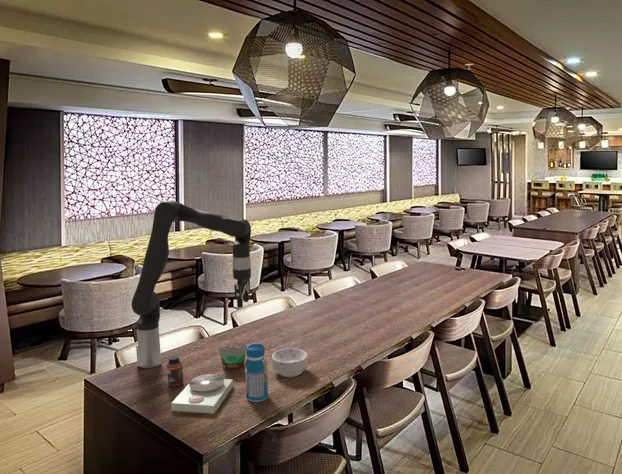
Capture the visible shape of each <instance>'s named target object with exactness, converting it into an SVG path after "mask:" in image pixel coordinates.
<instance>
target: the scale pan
mask: <svg viewBox="0 0 622 474" xmlns="http://www.w3.org/2000/svg"><path fill="white" fill-rule="evenodd" d="M224 379H225V378H224V377H223V376H222V375H219V374H216V373H209V374H208V373H206V374H202V375H198V376H196V377H193V378H192V379H191V380H190V381H189V383H188V384H189V385H190V388H191V389H192V390H194V391H198V392H208V391H213V390H216V389H218V388H220V387H221V386H222V385H223V384H224Z"/></svg>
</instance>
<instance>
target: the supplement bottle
mask: <svg viewBox="0 0 622 474" xmlns="http://www.w3.org/2000/svg"><path fill="white" fill-rule="evenodd" d="M166 373H167V383H168V386H169V387H173V388H174V387H179V386H182V385H183V384H184V372H183V362H182V361H181V360H180V356H179V355H171V356H169V357H168V362H167V364H166Z"/></svg>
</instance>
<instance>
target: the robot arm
mask: <svg viewBox="0 0 622 474" xmlns="http://www.w3.org/2000/svg"><path fill="white" fill-rule="evenodd" d="M153 213H154V214H153V221H152V228H151V233H150V237H149V239H148V240H149V241H148V245H147V248H146V251H145V255H144V259H143V264H142V269H141V272H140V276H139V279H138V280H139V281H138V283H137V286H136V289H135V292H134V294H133V297H132V300H131V309H132V311H133V313H134V314H136V315H137V316H139V318H138V320H137V321H136V334H137V335H136V337H137V344H136V346H135V350H136V352H135V353H136V360H137V361H136V362H137V367H140V368H142V369H152V368H155V367H156V368H157V367H158V366H161V364H162V355H161V353H162V352H161V341H160V325H159V322H160V319H161V309H160V308H161V307H160V305H161V304H160V298H159V296H158V293H156V292H155V288H156V285H157V283H158V282H159V280H160V278H161V276H162V275H163V274H164V271H165V269H166V268H167V267H166V266H167V263H168V259H169V254H170V246H169V234H170V230H171V228H172V224H173V223H175V222H187V223H190V224H194V225H196V226H198V227H201V228H204V229H206V230H210V231H214V232H220V233H223V234H225V235H227V236H230V237H233V238H234V243H233V244H232V279H233V280H237V281H236V282H237V283H236V284H234V285H233V287H234V299H236V304H237V305H236V306H237V308H238V309H242V308H243V307H244V305H243V304H244V303H248V302H249V298H250V297H249V293H250V291H251V278H252V263H251V255H250V254H251V252H250V251H251V250H250V243H251V235H252V227H251V224H250V222H249V221H248V220H247V219H246V218H239V219H232V218H229V217H228V216H225V215H223V214H219V213H213V212H209V211H206V210H200V209H197V208H193V207H190V206H188V205H186V204H183V203H181V202H178V201H175V200H171V199H170V200H165V201H161V202H160V203H158V204H157V205H156V207H155V209H154V212H153Z"/></svg>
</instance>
